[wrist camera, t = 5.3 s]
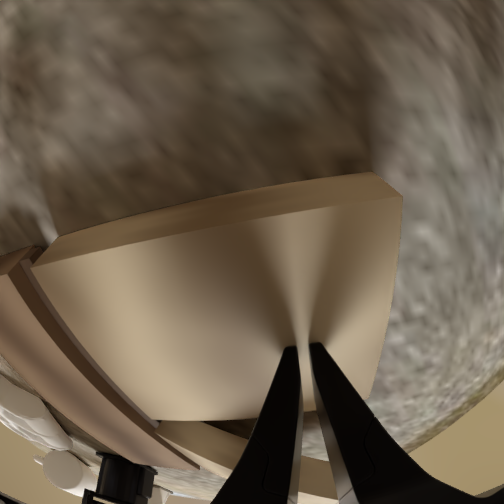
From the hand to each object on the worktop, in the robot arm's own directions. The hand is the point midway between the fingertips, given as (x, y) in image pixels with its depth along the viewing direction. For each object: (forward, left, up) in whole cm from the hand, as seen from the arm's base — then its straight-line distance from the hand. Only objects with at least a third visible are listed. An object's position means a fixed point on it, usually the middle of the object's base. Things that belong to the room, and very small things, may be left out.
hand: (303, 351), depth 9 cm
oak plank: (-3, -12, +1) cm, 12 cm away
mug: (-43, -34, -2) cm, 55 cm away
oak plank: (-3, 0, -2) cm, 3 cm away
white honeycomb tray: (-31, -11, -3) cm, 33 cm away
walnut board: (-13, -6, -2) cm, 15 cm away
